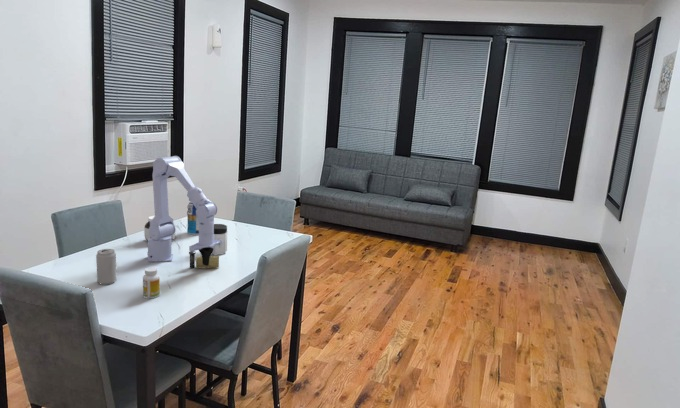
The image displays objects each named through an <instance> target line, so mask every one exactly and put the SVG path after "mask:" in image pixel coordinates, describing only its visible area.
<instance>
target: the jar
mask: <svg viewBox="0 0 680 408" xmlns="http://www.w3.org/2000/svg"><path fill="white" fill-rule="evenodd" d="M218 239H220V240H222V245H216V246H214V247H211V248H213V252H212V254H211V255H215V256H216V255H225V254H226V252H227V251H228V225H226V224H223V223H214V240H218Z"/></svg>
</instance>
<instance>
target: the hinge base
mask: <svg viewBox="0 0 680 408" xmlns="http://www.w3.org/2000/svg"><path fill="white" fill-rule="evenodd" d="M188 255H189V269H196V250H195V251H194V252H191V251H188Z"/></svg>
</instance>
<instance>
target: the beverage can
mask: <svg viewBox="0 0 680 408" xmlns="http://www.w3.org/2000/svg"><path fill="white" fill-rule="evenodd" d="M116 255H117V253H116V252H115V249H112V248H103V249H99V250H98V251H97V253H96V255H95V256H96V257H95V258H96V278H97V279H96V281H97V283H99V284H100V283H101V284H100V285H103V284H108V285H112V284H114V283H115V282H117V256H116ZM113 282H114V283H113ZM111 283H112V284H111Z"/></svg>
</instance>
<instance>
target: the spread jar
mask: <svg viewBox="0 0 680 408" xmlns="http://www.w3.org/2000/svg"><path fill="white" fill-rule="evenodd" d="M154 217H155V215H151V216H150V215H149V216H148V218H147V219H148V221H146V223H145V225H144V230H143V233H144V239H145V240H146V241H147V242H148V239H151V237H150V235H149V227H150V221H151V220H152V219H153V218H154ZM175 234H176V233H174V234H173V237H172V238H171V241H173V240H175V239H176V235H175Z"/></svg>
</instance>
